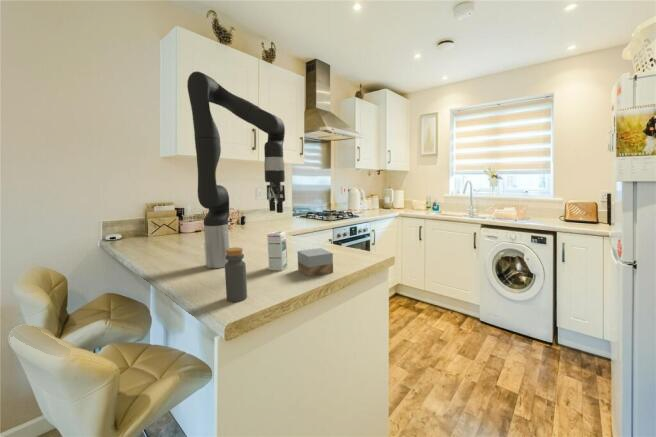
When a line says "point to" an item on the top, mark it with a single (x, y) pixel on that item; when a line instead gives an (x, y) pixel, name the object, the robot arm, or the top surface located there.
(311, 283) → the top surface
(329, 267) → the tower base block
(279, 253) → the syrup box
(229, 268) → the bottle
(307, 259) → the tower top block
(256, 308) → the top surface
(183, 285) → the top surface
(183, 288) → the top surface
